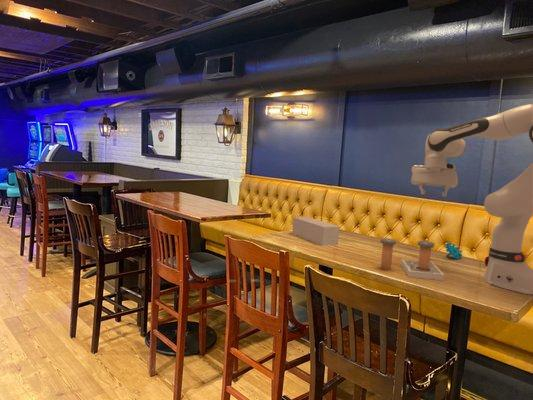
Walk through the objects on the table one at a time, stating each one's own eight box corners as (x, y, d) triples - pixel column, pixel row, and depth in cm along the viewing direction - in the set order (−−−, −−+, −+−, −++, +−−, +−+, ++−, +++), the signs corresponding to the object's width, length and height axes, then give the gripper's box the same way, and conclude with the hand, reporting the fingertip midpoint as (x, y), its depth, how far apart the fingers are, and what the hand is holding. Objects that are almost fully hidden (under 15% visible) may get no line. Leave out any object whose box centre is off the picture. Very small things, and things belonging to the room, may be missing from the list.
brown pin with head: (396, 271, 178) (399, 241, 176) (385, 273, 175) (388, 241, 173) (385, 267, 184) (387, 237, 182) (374, 269, 180) (377, 238, 179)
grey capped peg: (434, 275, 172) (437, 243, 170) (424, 277, 169) (427, 244, 167) (421, 271, 178) (424, 240, 176) (411, 273, 174) (414, 241, 173)
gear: (451, 257, 204) (444, 240, 211) (443, 263, 209) (436, 246, 215) (467, 259, 209) (459, 243, 215) (459, 265, 213) (451, 248, 219)
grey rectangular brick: (338, 245, 227) (339, 226, 226) (322, 246, 222) (324, 227, 221) (306, 233, 255) (307, 216, 254) (292, 234, 250) (293, 217, 249)
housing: (400, 266, 188) (401, 259, 187) (432, 269, 186) (432, 262, 185) (408, 279, 168) (409, 271, 168) (443, 282, 166) (444, 274, 166)
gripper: (413, 162, 187) (412, 191, 184) (459, 166, 184) (459, 195, 181) (409, 166, 193) (408, 194, 190) (454, 170, 190) (454, 198, 187)
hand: (433, 195), depth 186 cm, fingers open, 8 cm apart
